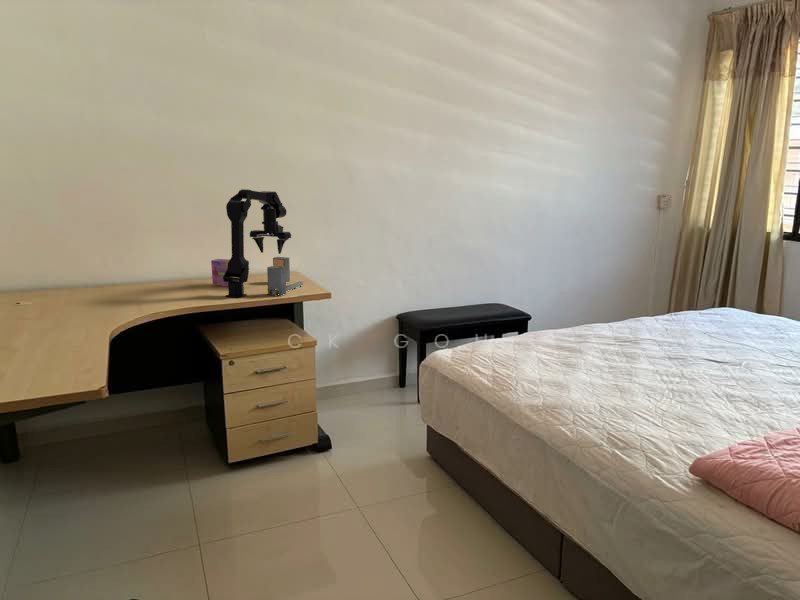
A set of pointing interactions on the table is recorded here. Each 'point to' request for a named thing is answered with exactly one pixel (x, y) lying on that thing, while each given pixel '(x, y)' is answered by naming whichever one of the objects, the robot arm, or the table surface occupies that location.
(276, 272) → the tall grey block
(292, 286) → the rail
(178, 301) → the table surface
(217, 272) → the box
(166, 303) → the table surface
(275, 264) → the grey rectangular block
